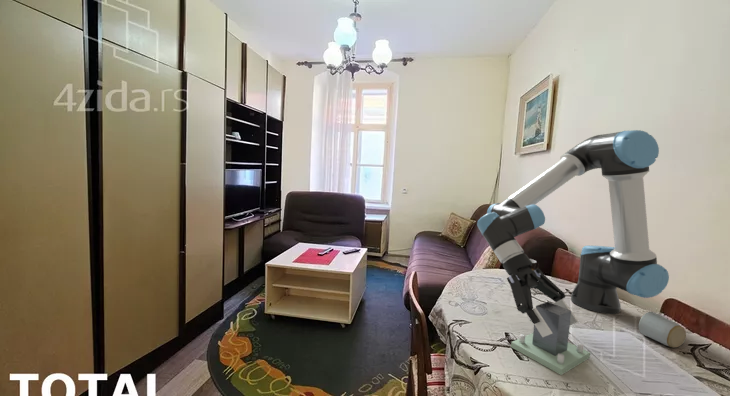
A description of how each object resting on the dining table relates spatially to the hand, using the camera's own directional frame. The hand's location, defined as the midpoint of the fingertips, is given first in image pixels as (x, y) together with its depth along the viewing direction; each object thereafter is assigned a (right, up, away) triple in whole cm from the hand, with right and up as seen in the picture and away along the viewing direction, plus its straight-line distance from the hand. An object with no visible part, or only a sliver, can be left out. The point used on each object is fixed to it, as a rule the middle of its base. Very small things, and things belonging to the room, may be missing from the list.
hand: (561, 329), depth 79 cm
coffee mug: (+23, -4, +60) cm, 64 cm away
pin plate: (-2, -7, +3) cm, 8 cm away
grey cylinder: (+39, -9, +12) cm, 41 cm away
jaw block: (-2, -6, +2) cm, 7 cm away
